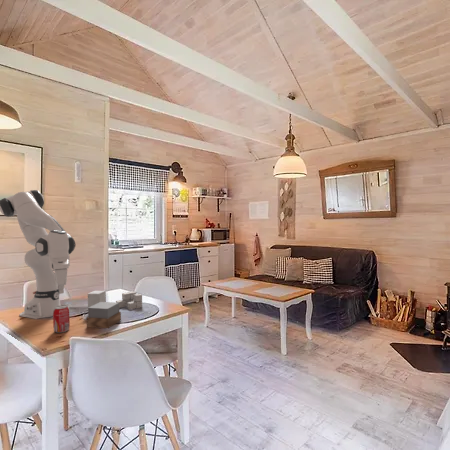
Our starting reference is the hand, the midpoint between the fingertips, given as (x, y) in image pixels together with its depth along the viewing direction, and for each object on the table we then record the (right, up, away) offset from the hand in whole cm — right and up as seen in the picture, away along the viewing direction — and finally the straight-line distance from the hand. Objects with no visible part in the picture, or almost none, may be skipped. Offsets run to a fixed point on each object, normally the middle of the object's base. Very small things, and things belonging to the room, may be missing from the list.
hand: (60, 291), depth 154 cm
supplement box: (+7, -19, +28) cm, 34 cm away
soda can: (0, -20, +1) cm, 20 cm away
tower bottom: (+17, -19, +11) cm, 28 cm away
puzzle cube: (+21, -19, +41) cm, 49 cm away
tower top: (+17, -14, +11) cm, 25 cm away
